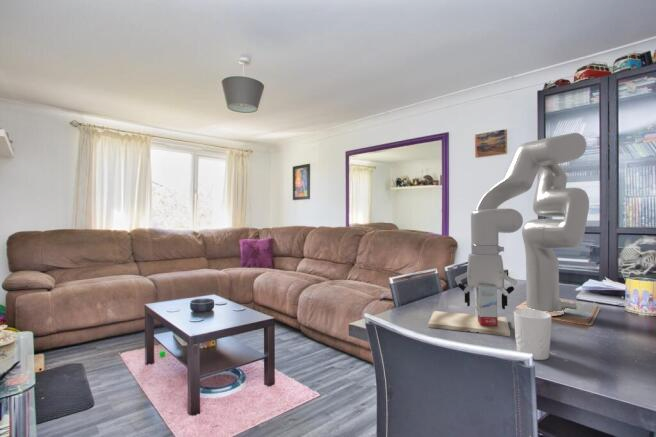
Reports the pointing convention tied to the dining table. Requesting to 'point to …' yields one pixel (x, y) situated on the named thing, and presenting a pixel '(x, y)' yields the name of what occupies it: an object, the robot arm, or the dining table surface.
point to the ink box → (486, 305)
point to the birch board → (467, 323)
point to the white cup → (533, 332)
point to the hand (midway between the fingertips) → (485, 306)
